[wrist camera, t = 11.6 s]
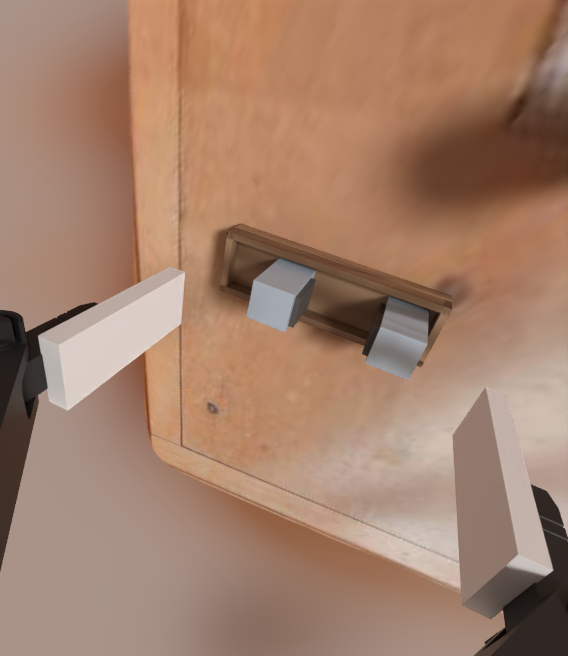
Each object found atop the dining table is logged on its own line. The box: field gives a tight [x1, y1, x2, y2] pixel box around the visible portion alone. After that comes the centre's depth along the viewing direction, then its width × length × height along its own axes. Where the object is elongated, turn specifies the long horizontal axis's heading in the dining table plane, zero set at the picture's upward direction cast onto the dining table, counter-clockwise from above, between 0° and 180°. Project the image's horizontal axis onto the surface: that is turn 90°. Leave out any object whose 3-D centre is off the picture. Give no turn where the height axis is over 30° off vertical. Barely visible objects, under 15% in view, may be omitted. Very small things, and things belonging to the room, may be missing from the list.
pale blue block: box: [247, 257, 316, 332], centre depth 42 cm, size 4×5×8 cm
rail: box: [219, 224, 452, 380], centre depth 41 cm, size 8×26×10 cm, turn 76°
